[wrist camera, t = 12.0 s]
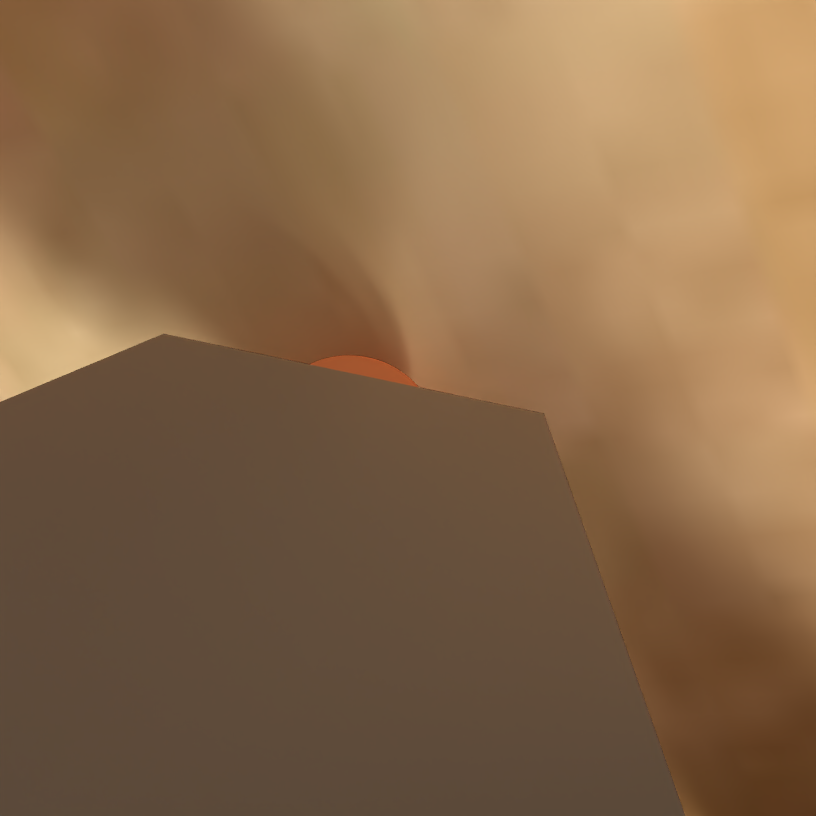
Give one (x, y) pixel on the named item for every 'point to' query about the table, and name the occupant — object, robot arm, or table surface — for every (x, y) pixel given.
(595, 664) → the grey cube
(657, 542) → the table surface
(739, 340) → the table surface
